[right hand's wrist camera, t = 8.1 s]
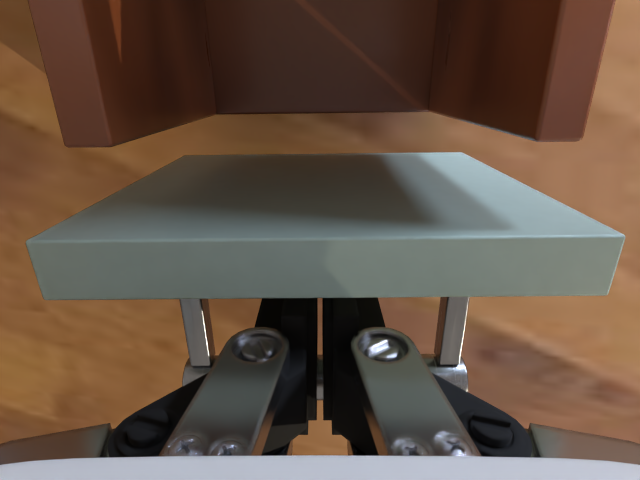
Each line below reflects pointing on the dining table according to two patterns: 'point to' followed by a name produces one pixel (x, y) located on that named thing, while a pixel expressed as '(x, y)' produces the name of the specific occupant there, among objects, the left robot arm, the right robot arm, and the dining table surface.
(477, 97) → the drawer
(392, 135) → the dining table surface
